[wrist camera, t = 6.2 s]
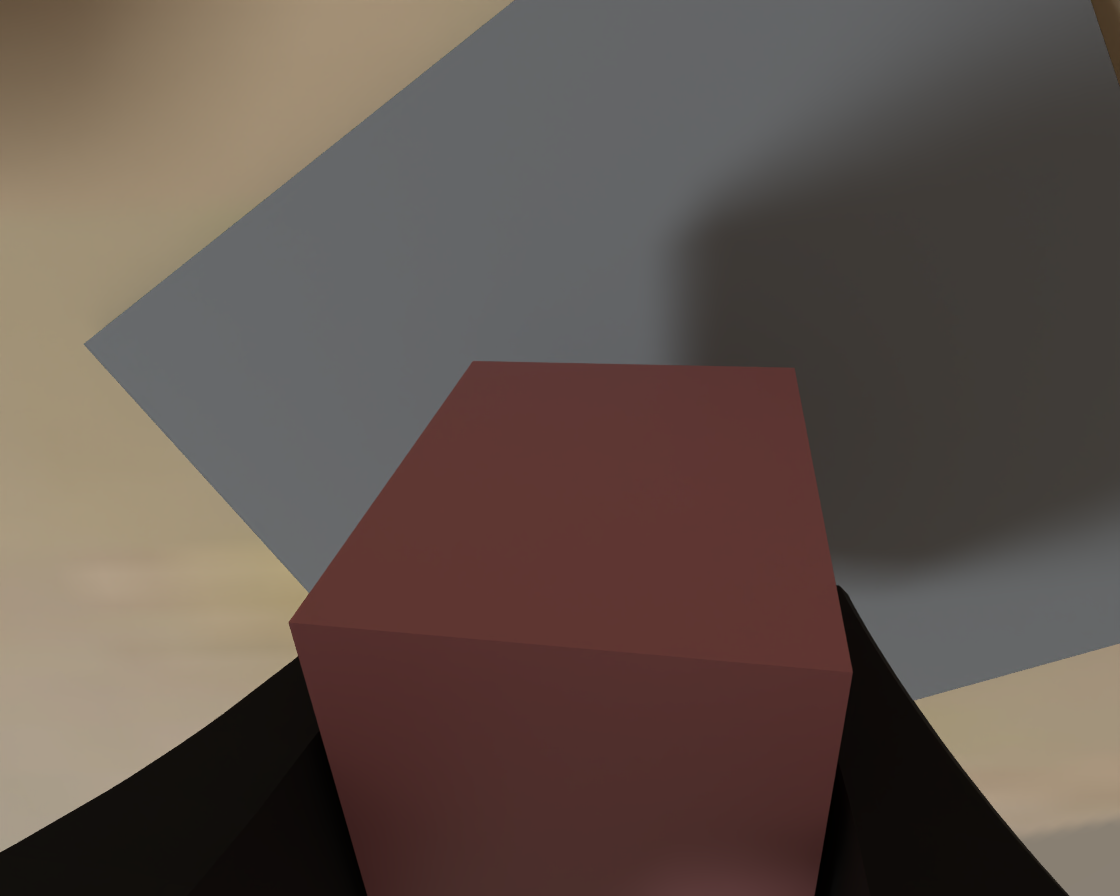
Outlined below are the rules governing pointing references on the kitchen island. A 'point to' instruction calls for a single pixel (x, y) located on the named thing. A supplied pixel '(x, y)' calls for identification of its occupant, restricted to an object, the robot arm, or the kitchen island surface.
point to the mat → (711, 287)
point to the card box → (587, 642)
